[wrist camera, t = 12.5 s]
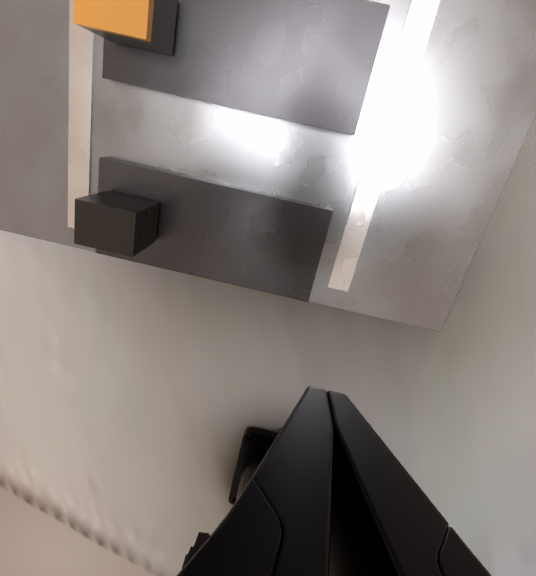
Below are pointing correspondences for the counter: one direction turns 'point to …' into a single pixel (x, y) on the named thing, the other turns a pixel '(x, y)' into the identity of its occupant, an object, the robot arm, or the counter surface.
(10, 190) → the breaker panel
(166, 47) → the block
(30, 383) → the counter surface
